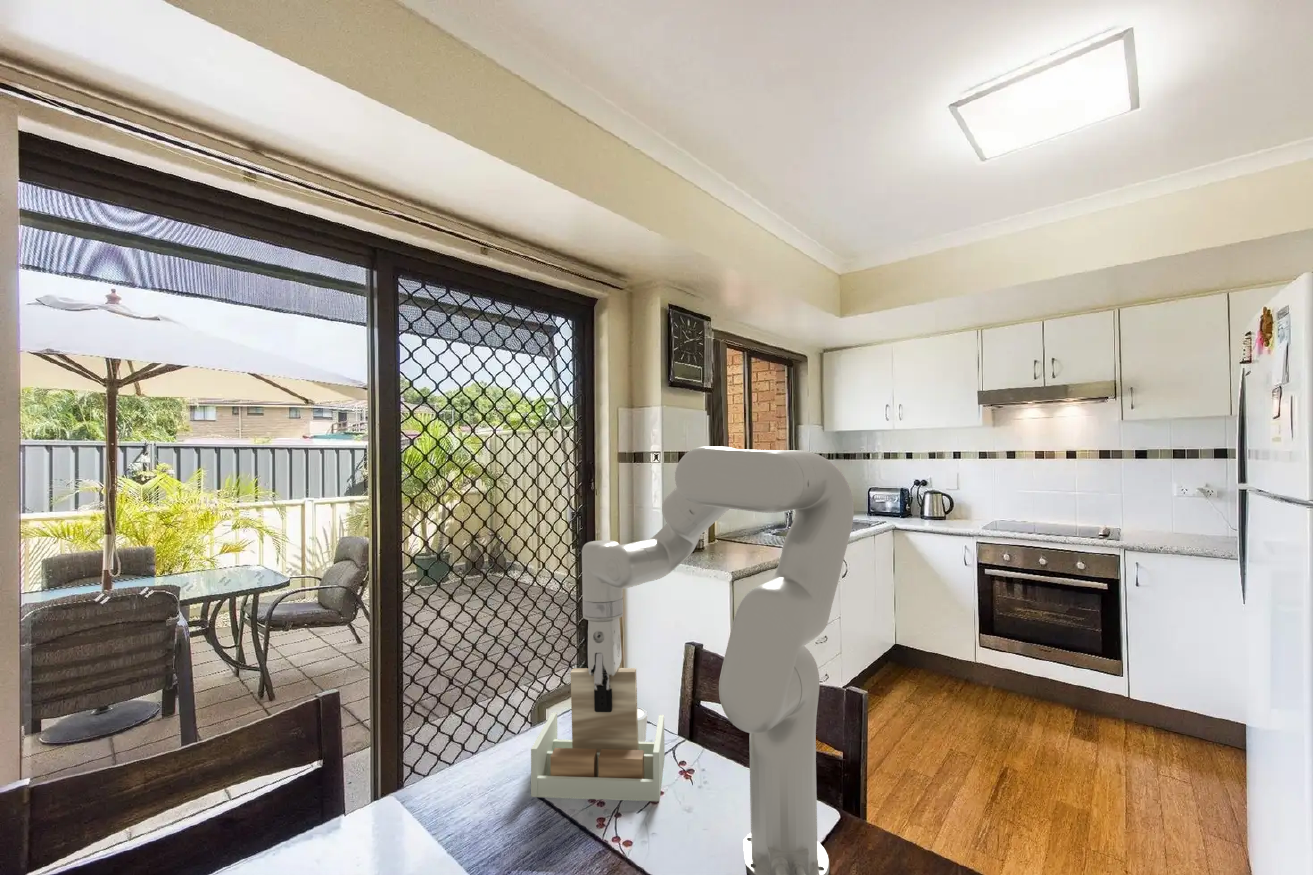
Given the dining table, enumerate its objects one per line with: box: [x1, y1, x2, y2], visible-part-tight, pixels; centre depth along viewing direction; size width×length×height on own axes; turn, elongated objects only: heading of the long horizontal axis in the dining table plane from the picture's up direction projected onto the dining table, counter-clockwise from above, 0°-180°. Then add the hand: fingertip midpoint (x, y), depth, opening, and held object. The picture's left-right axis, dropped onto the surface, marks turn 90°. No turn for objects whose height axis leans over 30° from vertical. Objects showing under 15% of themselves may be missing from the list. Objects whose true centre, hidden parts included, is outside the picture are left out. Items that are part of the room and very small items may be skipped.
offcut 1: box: [551, 748, 597, 777], centre depth 99 cm, size 3×8×6 cm, turn 86°
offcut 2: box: [598, 749, 644, 779], centre depth 98 cm, size 3×8×6 cm, turn 86°
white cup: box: [637, 706, 649, 742], centre depth 115 cm, size 7×7×7 cm
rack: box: [530, 711, 666, 802], centre depth 103 cm, size 14×22×10 cm, turn 86°
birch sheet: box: [570, 667, 639, 753], centre depth 105 cm, size 2×12×16 cm, turn 86°
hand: (604, 707), depth 105 cm, fingers closed on birch sheet, 2 cm apart
